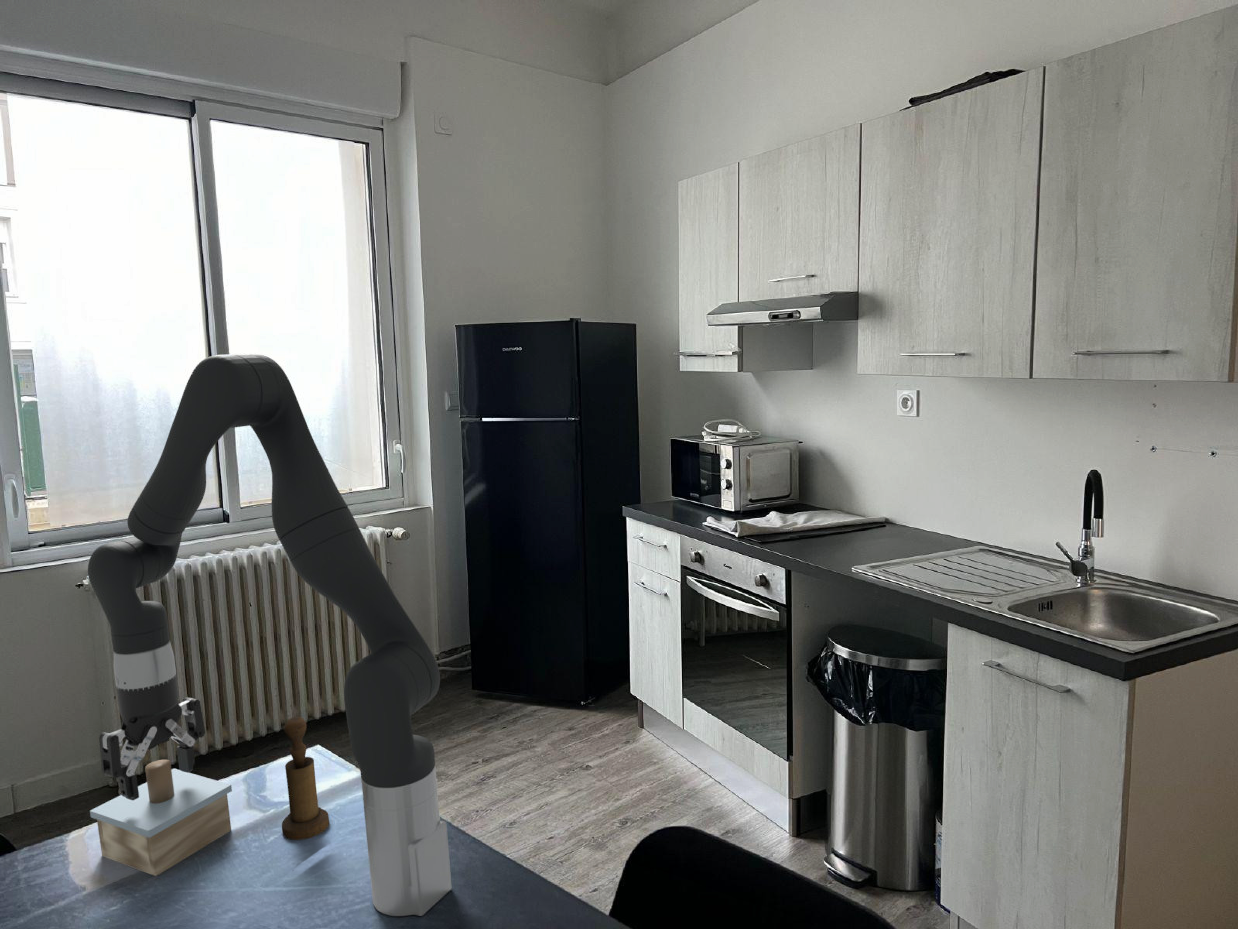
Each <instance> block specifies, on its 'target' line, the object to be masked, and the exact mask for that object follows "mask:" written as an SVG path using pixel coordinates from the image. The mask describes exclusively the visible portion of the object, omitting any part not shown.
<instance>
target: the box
mask: <svg viewBox="0 0 1238 929" xmlns="http://www.w3.org/2000/svg"><path fill="white" fill-rule="evenodd" d="M228 798H229V797H228V794H226V795H224V796H223V797H221V798H219V799H217V800H215V801H214V802H212V803H210V804H208V805H207V806H205V807H203V808H201V809H199V810H198V811H196V812H194V813H192V814H191V815H189V816H187V817H185V818H184V819H182V820H180V821H178V822H176V823H175V824H173V825H171V826H169V827H168V828H166V829H164V830H162V831H161V832H159V833H157V834H155V835H153V836H152V837H150V838H148V837H145V836H143V835H140V834H137V833H134V832H131V831H128V830H125V829H123V828H120V827H117V826H114V825H111V824H108V823H105V822H103V821H100V820H97V819H96V824H97V828H98V829H97V831H98V835H99V836H98V837H99V844H100V851H101V856H102V857H105V858H107V859H109V860H112V861H115V862H117V863H120V864H123V865H126V866H128V867H131V868H133V869H136V870H139V871H141V872H144V873H146V874H148V875H152V876H154V877H157V876H159V875H161V874H163V873H164V872H165V871H167V870H169V869H170V868H171V867H174V866H175V865H177V864H178V863H180V862H182V861H183V860H185V859H187V858H188V857H189V856H191V855H194V854H195V853H196V852H198V851H199V850H202V849H204V848H205V847H207V846H208V845H210V844H211V843H213V842H214V841H216V840H218V839H219V838H221V837H223V836H224V835H226V834H227V833H229V832H231V831H232V823H231V816H230V806H229V800H228Z"/></svg>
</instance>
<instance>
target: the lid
mask: <svg viewBox="0 0 1238 929" xmlns="http://www.w3.org/2000/svg"><path fill="white" fill-rule="evenodd" d="M144 769H145V771H144V772H145V777H146V782H145V783H141V784H140V785H138V792H139V798H137V799H135V800H130V799H127V798H126V797H123V796H122V795H121V794H120V795H118V796H115V797H114V798H112V799H111V800H108V801H106V802H105V803H102V804H100V805H98V806H96V807H95V808H92V809H91V810H89V814H90V815H89V816H90V818H92V819H94V820H96V821H97V820H100V821H103V822H105V823H108V824H111V825H114V826H117V827H120V828H123V829H125V830H128V831H131V832H134V833H137V834H140V835H143V836H145V837H148V838H150V837H152V836H153V835H155V834H157V833H159V832H161V831H162V830H164V829H166V828H168V827H169V826H171V825H173V824H175V823H176V822H178V821H180V820H182V819H184V818H185V817H187V816H189V815H191V814H192V813H194V812H196V811H198V810H199V809H201V808H203V807H205V806H207V805H208V804H210V803H212V802H214V801H215V800H217V799H219V798H221V797H223V796H224V795H226V794H227V795H228V794H230V793H232V792H233V789H232V788H233V787H232V784H229V783H226V782H223V781H219V780H216V779H213V778H208V777H205V776H201V775H199V774H194V773H191V772H188V773H187V772H183V771H181V770H180V769H179V768H178V769H177V768H172V764H171V761H170V760H169V759H159V760H155V761H152V762H150V763H148V764H146V766H145V768H144Z"/></svg>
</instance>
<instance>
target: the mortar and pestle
mask: <svg viewBox="0 0 1238 929" xmlns="http://www.w3.org/2000/svg"><path fill="white" fill-rule="evenodd" d="M283 730H284V733H285V735H286V736H287V738H288V739H289V740H290V741H291V747H290V748H289V752H290V755H291V758H292V759H290V760H289V761H287V762H286V764H285V768H284V769H285V776H286V784H287V793H288V804H289V814H288V815H287V816H285V818H284V819H283V821H282V822H281V832H282V836H283V837H284V838H286V839H288V840H291V841H301V840H302V841H303V840H308V839H310V838H313V837H316V836H318V835H320V834H322V833H323V832H325V831H326V830H327V829H328V827H329V825H330V815H329V813H328V811H326V810H325V809H323V808H322V807H320V806H319V801H318V793H317V782H316V781H317V780H316V771H315V770H316V769H315V761H314V760H315V759H314V758H313V757H311V756H306V753H307V745H306V744H304V743H303V739H304V736H305V733H306V731H307V721H305V719H304V718H302V717H301V716H293V717H290V718H289V719H287V721H286V722H285V723H284V728H283Z"/></svg>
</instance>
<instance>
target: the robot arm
mask: <svg viewBox="0 0 1238 929" xmlns="http://www.w3.org/2000/svg"><path fill="white" fill-rule="evenodd" d="M249 426H250V428H251V429H252V431H253V432H254V434H255V435H256V436H257V438H258V441H259V443H260V444H261V446H262V448H263V450H264V453H265V455H266V456H267V459H268V462H269V466H270V469H271V470H270V471H271V518H272V525H273V528H274V532H275V533H276V536H277V538H278V540H279V542H280V544H281V546H282V548H283V550H284V552H285V553H286V556H287V558H288V559H289V561H290V563H291V565H292V567H293V568H294V570H295V572H296V573H297V574H298V576H299V577H300V578H301V579H302V580H303V581H304V582H305V583H307V585H308V586H310V588H312V589H313V590H315V591H316V592H317V593H318V594H320V595H321V596H323V597H324V598H325V599H327V600H328V601H329V602H331V603H332V604H334V605H335V606H337V607H338V608H339V609H340V610H342V612H343V613H345V615H347V616H348V618H350V619H351V621H352V622H353V623H354V624H355V626H356V627H357V629H358V631H359V632H360V634H361V636H362V638H363V640H364V641H365V643H366V645H367V647H368V649H369V652H370V654H368V655H366V656H365V657H363V658H361V659H360V660H358V661H357V662H355V663H354V664H352V666H351V667H350V668H349V669H348V671H347V673H346V675H345V680H344V684H343V685H344V686H343V699H344V700H343V701H344V702H343V703H344V709H345V715H346V722H347V730H348V735H349V742H350V748H351V752H352V754H353V758H354V759H355V761H356V763H357V764H358V767H359V771H360V778H361V779H360V780H361V789H362V790H361V791H362V801H363V812H364V822H365V823H364V824H365V833H366V834H365V835H366V843H367V854H368V864H369V866H368V867H369V874H370V886H371V894H372V896H371V898H372V904H373V906H374V907H375V909H376V910H377V911H378V912H380V913H381V914H384V915H387V916H392V917H406V916H411V915H413V916H414V915H415V916H420V917H422V916H424V915H425V914H426V913H427V912H428V911H429V910H430V909H431V908H432V907H433V906H435V905H436V903H438V902H439V901H440V900H442V898H444V896H445V895H446V894H448V892H450V891H451V890H452V886H453V885H452V878H451V877H452V875H451V867H450V866H451V863H450V851H449V838H448V828H447V827H448V826H447V822H446V821H444V820H442V819H441V818H440V808H439V806H440V804H439V795H438V793H439V792H438V782H437V769H436V768H437V767H436V757H435V749H434V745H433V742H431V740H429V739H428V738H426V737H424V736H422V735H418V734H413V727H412V719H411V718H412V717H411V716H412V715H414V714H415V713H416V712H418V711H419V710H420V709H422V708H423V707H425V705H427V704H428V703H430V701H432V699H434V698H435V696H436V695H437V693H438V692H439V689H440V683H441V673H440V670H439V669H440V668H439V665H438V663H437V660H436V657H435V655H434V654H433V652H432V650H431V648H430V647H429V645H428V644H427V642H426V640H425V639H424V637H423V636H422V634H421V632H420V631H419V630H418V628H417V627H416V625H415V624H414V623H413V620H412V619H411V618H410V617H409V615H408V613H407V612H406V611H405V609H404V607H403V606H402V605H401V603H400V601H399V600H398V598H397V596H396V594H395V592H394V591H393V589H392V588H391V586H390V584H389V582H388V580H387V578H386V576H385V575H384V573H383V571H382V569H381V567H380V566H379V565H378V563H377V560H376V559H375V557H374V555H373V554H372V551H371V550H370V548H369V546H368V544H367V542H366V540H365V538H364V535H363V533H362V531H361V529H360V527H359V526H358V523H357V521H356V520H355V518H354V516H353V514H352V512H351V509H350V508H349V506H348V504H347V503H346V501H345V499H344V498H343V496H342V494H341V493H340V490H339V488H338V487H337V484H336V483H335V481H334V479H333V476H332V475H331V473H330V471H329V469H328V467H327V465H326V463H325V460H324V458H323V457H322V455H321V453H320V450H319V449H318V447H317V445H316V443H315V440H314V438H313V436H312V433H311V431H310V429H309V426H308V423H307V421H306V419H305V415H304V413H303V411H302V408H301V406H300V403H299V400H298V398H297V396H296V393H295V390H294V388H293V386H292V383H291V381H290V379H289V377H288V376H287V374H286V373H285V371H284V369H283V368H282V366H281V365H280V364H279V363H277V361H276V360H274V359H272V358H270V357H269V356H267V355H264V354H257V353H250V354H249V353H243V354H242V353H240V354H239V353H233V354H230V353H229V354H217V355H216V354H215V355H211V356H208V357H206V358H204V359H202V360H201V361H199V362H198V364H196V366H195V368H194V369H193V370H192V372H191V374H190V376H189V378H188V380H187V382H186V385H185V387H184V390H183V393H182V396H181V398H180V401H179V404H178V407H177V410H176V413H175V416H174V418H173V421H172V424H171V427H170V430H169V433H168V436H167V438H166V440H165V444H164V447H163V449H162V452H161V455H160V457H159V459H158V462H157V464H156V466H155V467H154V468H155V469H154V470H153V472H152V474H151V476H150V477H149V479H148V481H147V482H146V484H145V486H144V487H143V489H142V490H141V493H140V494H139V496H138V497H137V499H136V501H135V502H134V504H133V505H132V508H131V510H130V512H129V514H128V517H127V527H128V529H129V532H130V533H131V534H132V536H130V537H128V538H127V537H126V538H123V539H120V540H116V541H115V540H114V541H112V542H109V543H105V544H102V545H100V546H99V547H97V548H96V549H95V550H93V552H92V554H91V556H89V557H90V558H89V560H88V564H87V575H88V580H89V583H90V585H91V588H92V589H93V591H94V593H95V596H96V597H97V600H98V602H99V603H100V604H99V605H100V607H101V608H102V611H103V612H104V615H105V617H106V620H107V621H108V623H109V627H110V636H111V642H112V644H111V645H112V650H113V651H112V652H113V673H114V683H115V689H116V696H117V703H118V710H119V714H120V717H121V719H122V720H121V722H122V723H121V726H120V728H119V729H118V730H115V731H112V732H110V733H109V732H107V731H106V732H102V733H100V735H99V737H98V740H99V753H100V763H101V773H102V774H103V775H104V776H107V777H111V778H114V779H118V782H119V789H120V791H119V792H120V795H122V796H123V797H126V798H127V799H130V800H135V799H137V798H139V792H138V786H139V785H138V778H137V773H135V772H136V770H137V767H138V765H139V763H140V761H142V760H143V759H144V758H145V755H146V753H147V751H149V750H152V749H154V748H155V747H157V746H159V744H165V743H168V742H169V741H170V739H172V740H173V741H174V742H176V743H177V744H178V746H177V747H176V753H177V754H176V755H177V759H178V770H181V771H183V772H187V773H191V771H193V770H194V766H195V764H196V761H195V760H196V759H195V751H194V745H195V742H196V741H197V740H198V739H199V738H203V737H204V736H205V734H206V729H205V723H204V717H203V712H202V705H201V701H200V700H199V699H197V698H193V697H187V696H186V697H184V698H183V699H182V702H180V703H179V701H180V693H179V683H178V677H177V669H176V660H175V654H174V651H173V647H172V643H171V639H170V638H171V637H170V630H169V621H168V614H167V611H166V607H165V606H164V605H163V604H162V603H161V602H159V601H156V600H144V601H143V600H142V601H141V599H140V598H139V595H138V593H137V589H139V588H141V587H144V586H147V585H150V584H153V583H156V582H159V580H161V579H163V578H164V577H166V576H167V574H168V573H170V571H171V570H172V569H173V567H174V566H175V564H176V561H177V558H178V554H179V549H180V546H181V542H182V536H183V535H182V534H183V533H184V531H185V530H186V529H187V526H188V525H189V524H190V522H191V520H192V519H193V517H194V515H195V514H196V513H197V511H198V509H199V508H200V506H201V504H202V503H203V502H202V501H203V499H204V496H205V493H206V490H207V469H206V468H207V461H208V458H209V456H210V454H211V452H212V449H213V448H214V447H215V446H216V444H217V443H218V442H219V440H220V439H221V438H222V437H223V435H225V434H226V432H228V430H230V429H231V428H232V429H234V428H241V427H249ZM182 715H184V721H185V726H186V730H185V729H184V728H183V727H181V726H180V725H179V724H178V723H179V721H180V719H181V717H182ZM123 739H125V742H124V744H123V742H122V741H123ZM122 745H123V746H122ZM120 747H122V748H121V749H120ZM135 747H136V750H134V748H135Z"/></svg>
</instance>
